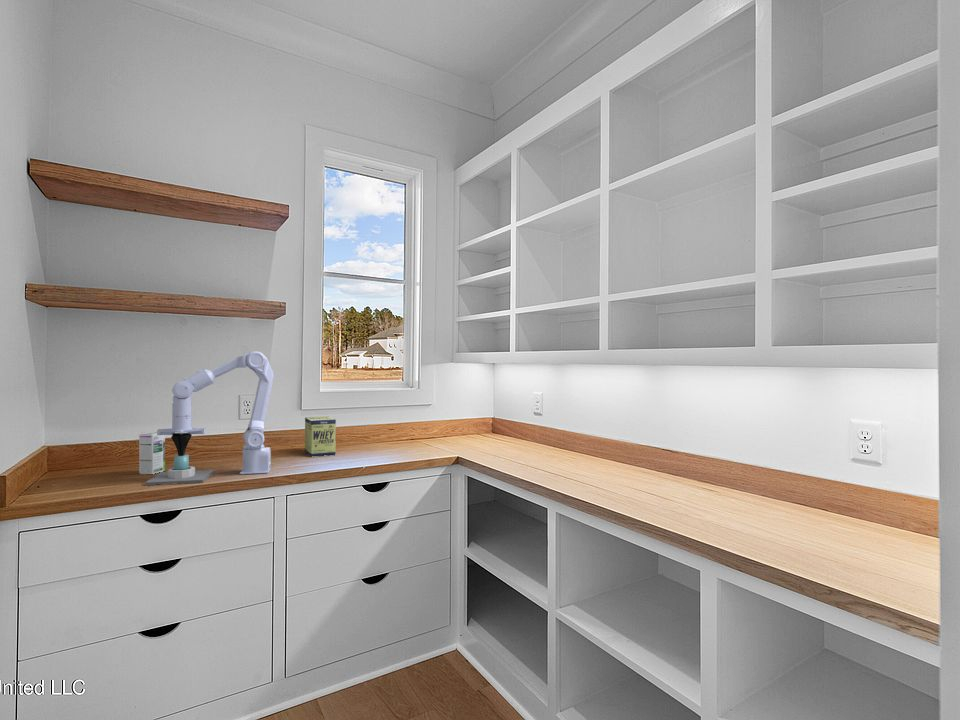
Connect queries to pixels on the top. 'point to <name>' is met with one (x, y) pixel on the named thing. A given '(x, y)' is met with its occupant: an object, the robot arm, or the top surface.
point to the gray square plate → (180, 476)
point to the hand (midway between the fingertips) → (181, 455)
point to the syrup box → (151, 453)
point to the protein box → (320, 436)
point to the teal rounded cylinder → (181, 462)
